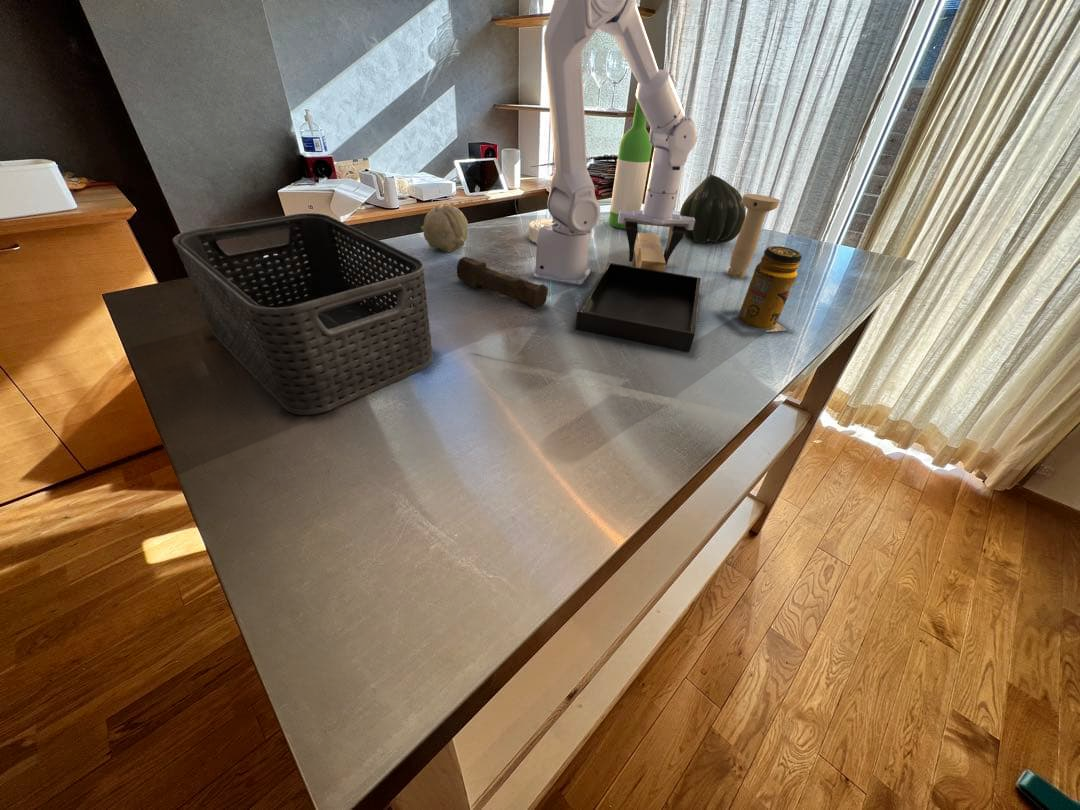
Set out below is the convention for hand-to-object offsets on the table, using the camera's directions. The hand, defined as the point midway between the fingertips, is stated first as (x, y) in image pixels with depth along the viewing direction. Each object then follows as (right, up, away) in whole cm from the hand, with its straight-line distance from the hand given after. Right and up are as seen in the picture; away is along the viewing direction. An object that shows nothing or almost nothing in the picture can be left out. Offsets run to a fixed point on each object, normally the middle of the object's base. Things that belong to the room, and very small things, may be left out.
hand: (647, 261), depth 91 cm
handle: (+18, -3, 0) cm, 18 cm away
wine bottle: (0, +18, +25) cm, 31 cm away
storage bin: (-52, -22, -31) cm, 64 cm away
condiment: (+13, -16, -17) cm, 27 cm away
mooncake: (-19, +9, +13) cm, 25 cm away
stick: (0, -1, +1) cm, 1 cm away
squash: (+19, +12, +19) cm, 29 cm away
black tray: (-5, -14, -16) cm, 22 cm away
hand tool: (-30, -10, -14) cm, 35 cm away
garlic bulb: (-43, +4, +3) cm, 43 cm away
